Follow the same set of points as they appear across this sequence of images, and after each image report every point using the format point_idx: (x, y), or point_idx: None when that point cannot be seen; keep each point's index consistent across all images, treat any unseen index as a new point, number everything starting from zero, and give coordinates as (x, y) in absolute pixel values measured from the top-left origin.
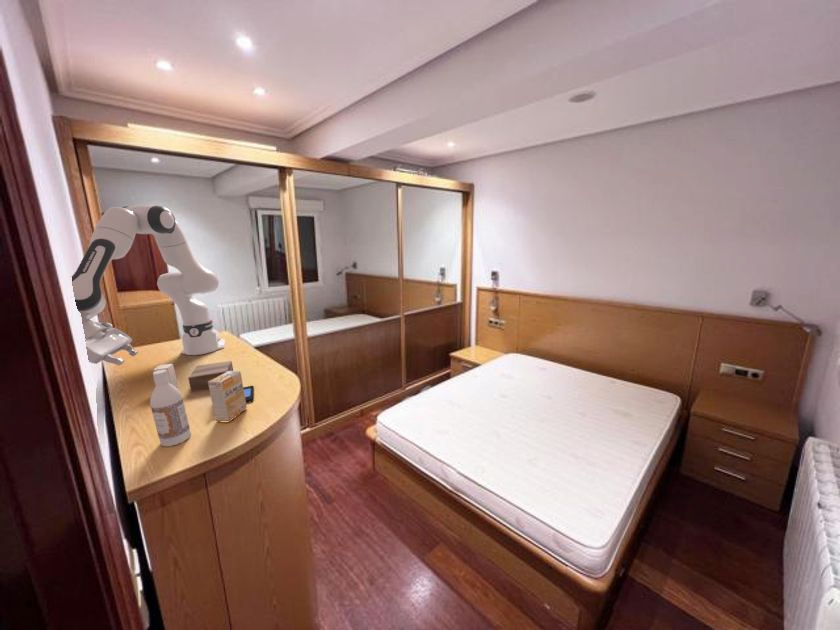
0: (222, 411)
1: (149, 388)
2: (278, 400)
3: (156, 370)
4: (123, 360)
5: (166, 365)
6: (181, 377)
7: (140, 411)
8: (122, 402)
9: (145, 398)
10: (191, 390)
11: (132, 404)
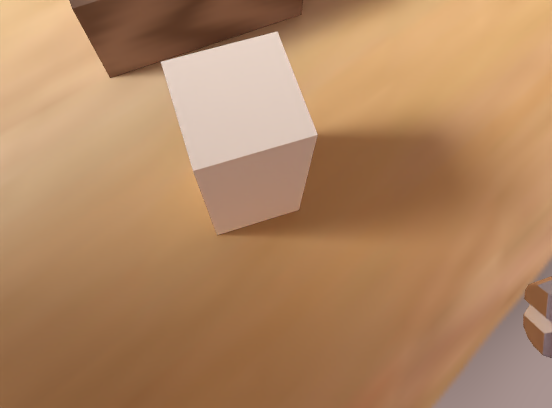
0: None
1: (216, 350)
2: None
3: (308, 116)
4: (545, 282)
5: (210, 85)
6: (34, 240)
7: (528, 137)
8: (436, 365)
9: (375, 242)
10: (301, 4)
11: (457, 261)
